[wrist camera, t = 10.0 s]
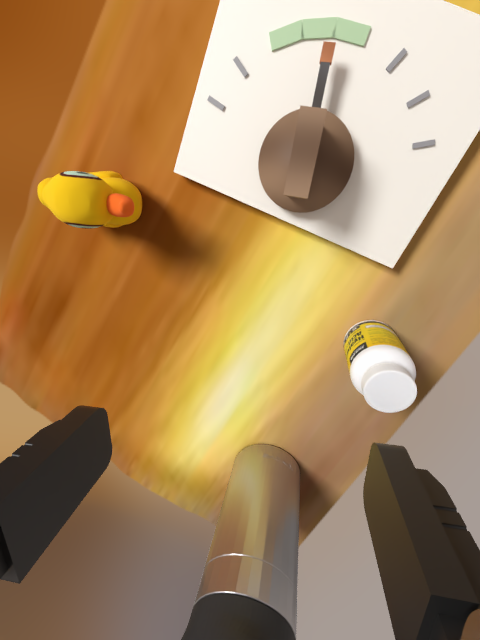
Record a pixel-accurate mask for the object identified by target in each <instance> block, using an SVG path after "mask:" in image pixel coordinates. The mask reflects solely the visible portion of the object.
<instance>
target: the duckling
mask: <svg viewBox="0 0 480 640" xmlns="http://www.w3.org/2000/svg"><path fill="white" fill-rule="evenodd" d="M38 197H39V199H40V201H41V202H42V204H44V205H45V206H46V207H48V208H49V209H50V210H51V211H52V213H53V214H54V215H55V216H56V217H57V218H58V219H59V220H61V221H62V222H64V223H66V224H68V225H71V226H74V227H78V228H97V227H101V226H105V227H112V228H115V227H120V226H122V225H127V224H131V223H133V222H135V221H136V220H137V219H138V218H139V217H140V215H141V212H142V197H141V194H140V192H139V190H138V189H137V187H136V186H135V185H133V184H132V183H130V182H129V181H126V180H124V179H123V177H122V175H121V174H119V173H117V172H113V171H101V172H91V173H85V172H78V171H68V172H63V173H60V174H57V175H56V176H54V177H53V178H47V179H44V180H43V181H42V182H40V184H39V185H38Z"/></svg>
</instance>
